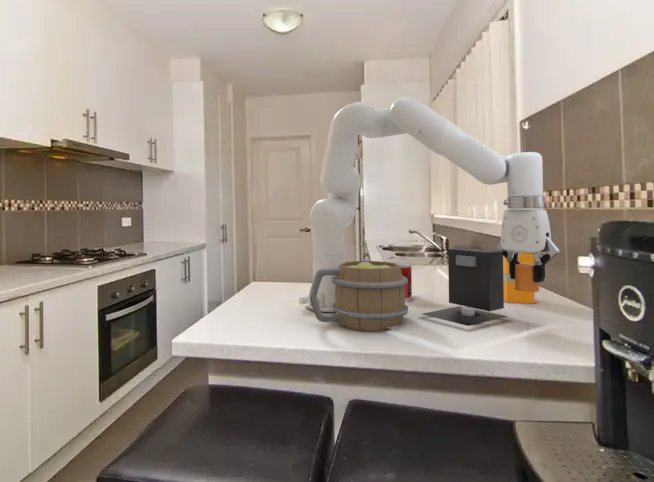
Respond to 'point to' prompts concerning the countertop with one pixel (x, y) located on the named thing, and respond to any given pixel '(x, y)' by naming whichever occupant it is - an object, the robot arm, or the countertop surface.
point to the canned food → (407, 273)
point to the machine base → (464, 316)
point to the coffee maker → (476, 278)
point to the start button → (468, 311)
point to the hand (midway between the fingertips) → (526, 279)
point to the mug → (364, 295)
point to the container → (525, 278)
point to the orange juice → (509, 284)
